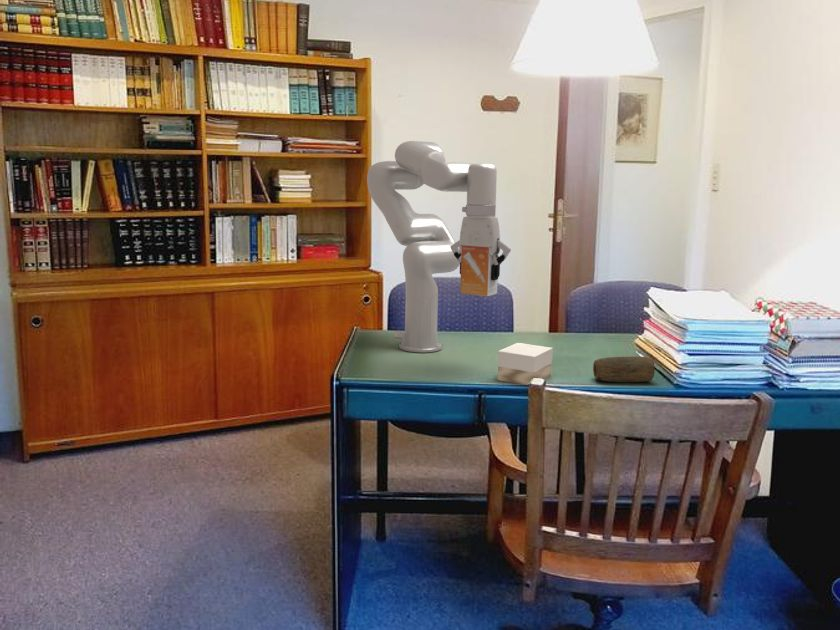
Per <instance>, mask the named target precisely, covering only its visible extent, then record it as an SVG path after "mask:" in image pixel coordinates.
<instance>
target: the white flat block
mask: <svg viewBox="0 0 840 630" xmlns="http://www.w3.org/2000/svg"><path fill="white" fill-rule="evenodd" d="M553 352H554V348H553V347H551V346H550V347H548V346H543V345H534V344H528V343H521V342H516V343H514V344H511V345H509V346H507V347H505V348H502V349H499V350H498V351H497V368H498V367H504V368H510V369H516V370H522V371H528V372H536V371H538V370H540V369H542V368H543V367H545V366H547V365H549V364H551V365H552V363H553V357H554V356H553V355H554V353H553Z"/></svg>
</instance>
